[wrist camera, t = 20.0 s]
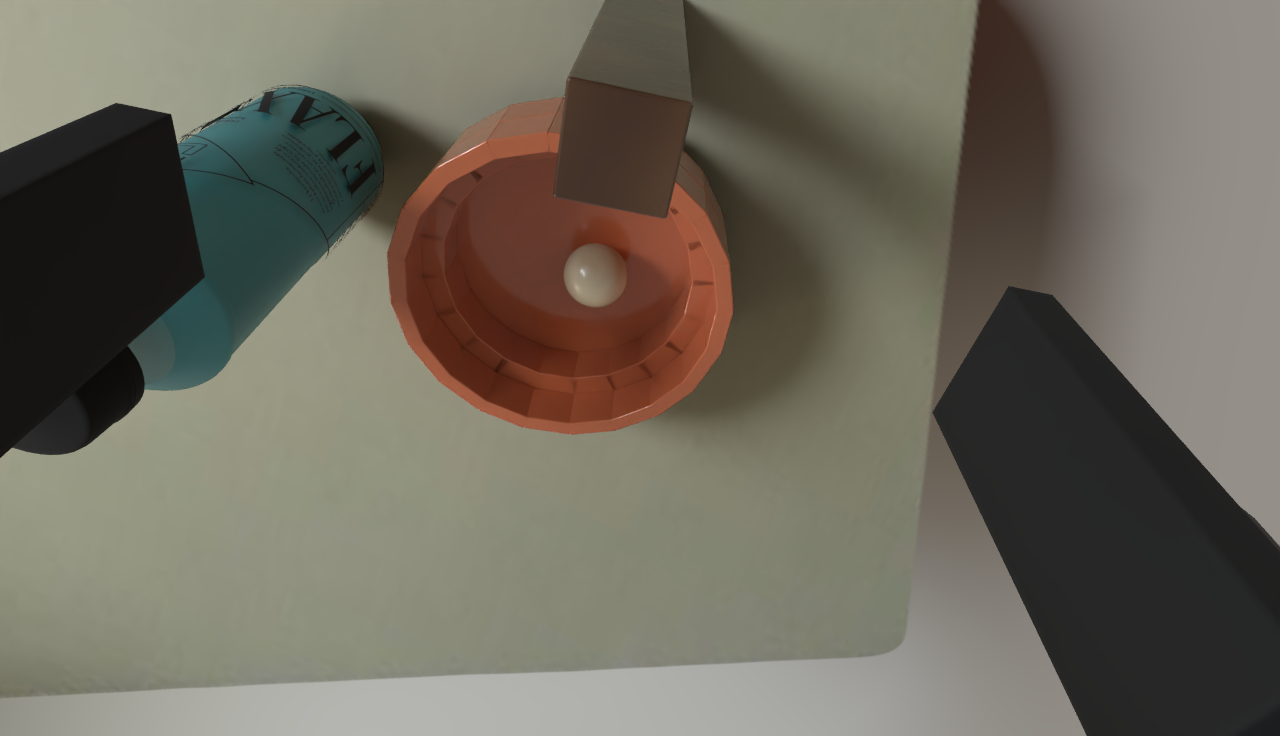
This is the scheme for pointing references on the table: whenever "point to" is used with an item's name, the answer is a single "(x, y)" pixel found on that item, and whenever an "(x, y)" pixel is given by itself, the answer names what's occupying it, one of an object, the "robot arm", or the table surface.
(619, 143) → the stick
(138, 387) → the beverage bottle
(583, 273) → the bead
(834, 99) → the table surface
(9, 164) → the robot arm
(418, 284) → the bowl
